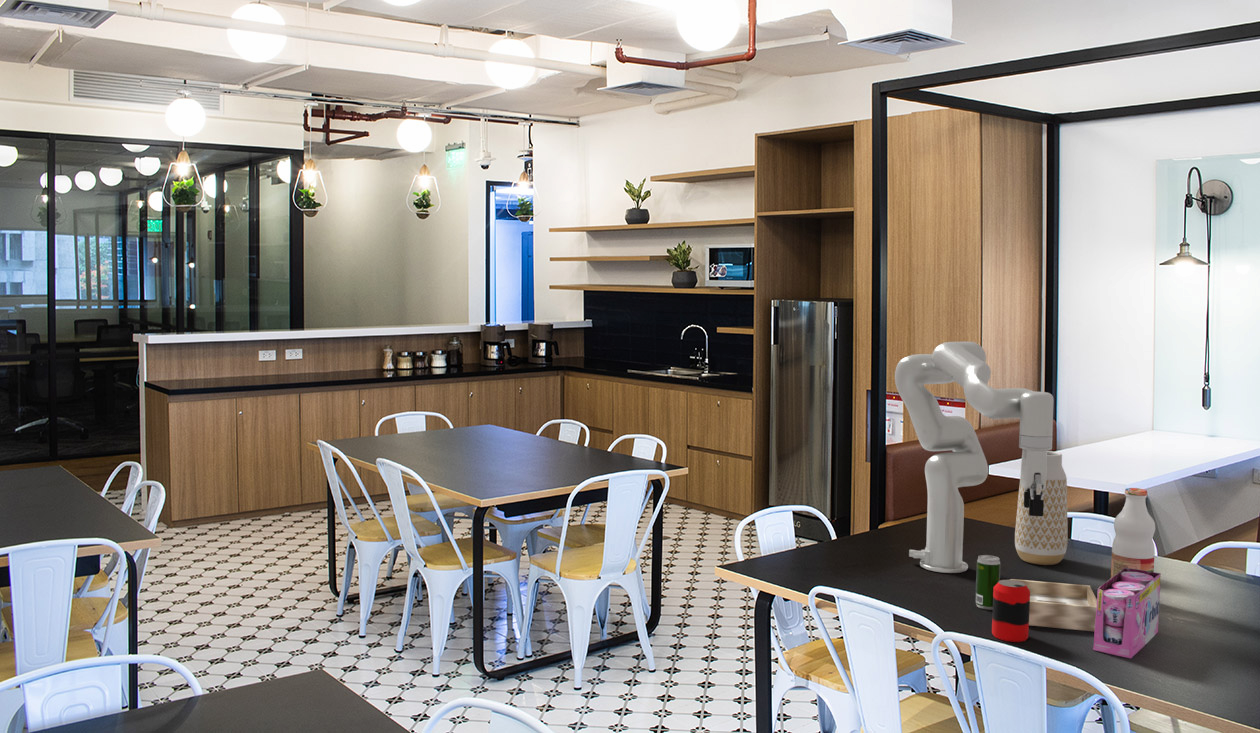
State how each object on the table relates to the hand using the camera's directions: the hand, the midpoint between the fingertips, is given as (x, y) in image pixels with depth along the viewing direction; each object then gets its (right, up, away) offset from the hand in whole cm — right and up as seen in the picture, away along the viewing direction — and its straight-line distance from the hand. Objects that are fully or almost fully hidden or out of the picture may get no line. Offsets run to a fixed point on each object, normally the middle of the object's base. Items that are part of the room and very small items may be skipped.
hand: (1033, 511), depth 255 cm
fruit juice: (+24, -23, 0) cm, 33 cm away
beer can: (-13, -23, -4) cm, 26 cm away
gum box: (+10, -25, -27) cm, 38 cm away
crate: (0, -23, -11) cm, 25 cm away
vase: (+17, -19, +38) cm, 46 cm away
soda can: (-15, -24, -25) cm, 38 cm away
